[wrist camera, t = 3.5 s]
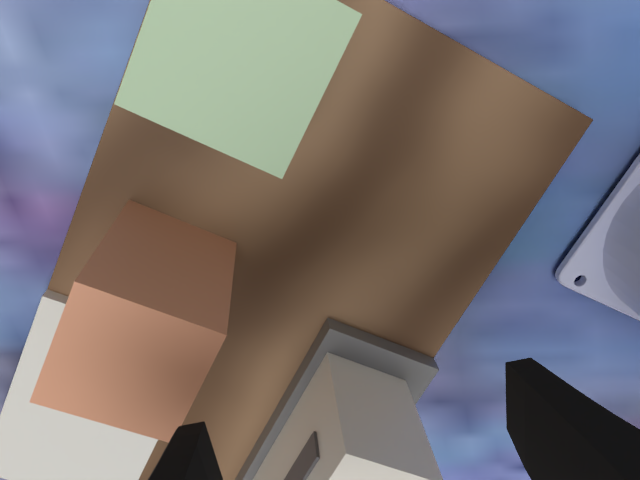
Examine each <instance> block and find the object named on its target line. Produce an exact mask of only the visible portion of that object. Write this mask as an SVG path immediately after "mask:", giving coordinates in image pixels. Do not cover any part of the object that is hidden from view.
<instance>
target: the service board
mask: <svg viewBox="0 0 640 480" xmlns="http://www.w3.org/2000/svg"><path fill="white" fill-rule="evenodd" d="M150 1H151V0H150ZM337 1H339V2H341V3H343V4H345V5H346V6H348V7H350V8H352V9H354V10H355V11H357V12H359V13H361V14H362V16H361V18H360V20H359V22H358V24H357V26H356V28H355V30H354V33H353V35H352V37H351V39H350V41H349V43H348V45H347V47H346V49H345V51H344V53H343V55H342V57H341V59H340V61H339V63H338V65H337V67H336V69H335V72H334V74H333V76H332V78H331V80H330V82H329V84H328V86H327V88H326V90H325V92H324V94H323V96H322V98H321V100H320V102H319V104H318V106H317V108H316V111H315V113H314V115H313V117H312V119H311V121H310V123H309V125H308V127H307V129H306V131H305V133H304V135H303V137H302V139H301V141H300V143H299V145H298V147H297V150H296V152H295V154H294V156H293V158H292V160H291V162H290V164H289V166H288V168H287V170H286V172H285V174H284V176H283V178H282V179H280V178H278V177H276V176H274V175H272V174H269V173H267V172H265V171H263V170H260V169H258V168H256V167H254V166H251V165H249V164H247V163H245V162H242V161H240V160H238V159H236V158H233V157H231V156H229V155H227V154H224V153H222V152H220V151H218V150H216V149H213V148H211V147H209V146H207V145H204V144H202V143H200V142H198V141H195V140H193V139H191V138H189V137H186V136H184V135H182V134H180V133H177V132H175V131H173V130H171V129H168V128H166V127H164V126H162V125H160V124H157V123H155V122H153V121H151V120H148V119H146V118H144V117H142V116H139V115H137V114H135V113H133V112H130V111H128V110H126V109H124V108H121V107H119V106H117V105H115V104H114V103H113V106H112V109H111V112H110V114H109V117H108V120H107V123H106V126H105V128H104V131H103V134H102V137H101V140H100V142H99V145H98V148H97V151H96V154H95V157H94V159H93V162H92V165H91V168H90V171H89V173H88V176H87V179H86V182H85V185H84V188H83V190H82V193H81V196H80V199H79V202H78V204H77V207H76V210H75V213H74V216H73V219H72V221H71V224H70V227H69V230H68V233H67V235H66V238H65V241H64V244H63V247H62V250H61V252H60V255H59V258H58V261H57V264H56V266H55V269H54V272H53V275H52V278H51V281H50V283H49V286H48V290H51V291H54V292H57V293H59V294H62V295H65V296H68V297H69V294H70V291H71V289H72V286H73V283H74V281H75V280H76V278H77V277H78V275H79V274H80V272H81V271H82V269H83V268H84V266H85V265H86V263H87V262H88V260H89V259H90V257H91V256H92V254H93V253H94V251H95V250H96V248H97V247H98V245H99V244H100V242H101V241H102V239H103V238H104V236H105V235H106V233H107V232H108V230H109V229H110V227H111V226H112V224H113V223H114V221H115V220H116V218H117V217H118V215H119V214H120V212H121V211H122V209H123V208H124V206H125V205H126V203H127V202H128V200H131V201H134V202H136V203H139V204H141V205H144V206H146V207H149V208H151V209H154V210H156V211H159V212H161V213H164V214H166V215H169V216H171V217H174V218H176V219H178V220H181V221H183V222H186V223H188V224H191V225H193V226H196V227H198V228H201V229H203V230H206V231H208V232H211V233H213V234H216V235H218V236H221V237H223V238H226V239H228V240H231V241H233V242H236V243H237V245H236V254H235V263H234V273H233V282H232V292H231V301H230V310H229V320H228V329H227V336H226V338H225V340H224V342H223V344H222V346H221V348H220V350H219V352H218V354H217V356H216V358H215V360H214V362H213V364H212V366H211V368H210V370H209V372H208V374H207V376H206V378H205V380H204V382H203V384H202V386H201V388H200V390H199V392H198V394H197V396H196V398H195V400H194V402H193V404H192V406H191V408H190V410H189V412H188V414H187V416H186V418H185V420H184V422H183V424H182V425H187V424H192V423H198V422H203V421H205V424H206V427H207V431H208V434H209V437H210V440H211V443H212V446H213V449H214V452H215V456H216V459H217V462H218V465H219V468H220V471H221V474H222V477H223V480H235V478H236V477H237V475H238V473H239V471H240V470H241V468H242V466H243V464H244V463H245V461H246V459H247V457H248V456H249V454H250V452H251V450H252V449H253V447H254V445H255V443H256V442H257V440H258V438H259V436H260V435H261V433H262V431H263V429H264V428H265V426H266V424H267V422H268V421H269V419H270V417H271V415H272V414H273V412H274V410H275V408H276V407H277V405H278V403H279V401H280V400H281V398H282V396H283V394H284V393H285V391H286V389H287V387H288V386H289V384H290V382H291V380H292V379H293V377H294V375H295V373H296V372H297V370H298V368H299V366H300V365H301V363H302V361H303V359H304V358H305V356H306V354H307V352H308V351H309V349H310V347H311V345H312V344H313V342H314V340H315V338H316V337H317V335H318V333H319V331H320V330H321V328H322V326H323V324H324V323H325V321H326V319H327V317H328V318H330V319H333V320H336V321H338V322H341V323H344V324H346V325H349V326H351V327H354V328H357V329H359V330H362V331H364V332H367V333H370V334H372V335H375V336H377V337H380V338H383V339H385V340H388V341H391V342H393V343H396V344H398V345H401V346H404V347H406V348H409V349H411V350H414V351H417V352H419V353H422V354H424V355H427V356H430V357H432V358H434V356H435V355H436V353H437V352H438V350H439V349H440V347H441V346H442V344H443V343H444V341H445V340H446V338H447V337H448V335H449V334H450V332H451V331H452V329H453V328H454V326H455V325H456V323H457V322H458V321H459V319H460V318H461V316H462V315H463V313H464V312H465V310H466V309H467V307H468V306H469V304H470V303H471V301H472V300H473V298H474V297H475V295H476V294H477V292H478V291H479V289H480V288H481V286H482V285H483V283H484V282H485V280H486V279H487V277H488V276H489V274H490V273H491V271H492V270H493V268H494V267H495V265H496V264H497V262H498V261H499V259H500V258H501V256H502V255H503V253H504V252H505V250H506V249H507V247H508V246H509V244H510V243H511V242H512V240H513V239H514V237H515V236H516V234H517V233H518V231H519V230H520V228H521V227H522V225H523V224H524V222H525V221H526V219H527V218H528V216H529V215H530V213H531V212H532V210H533V209H534V207H535V206H536V204H537V203H538V201H539V200H540V198H541V197H542V195H543V194H544V192H545V191H546V189H547V188H548V186H549V185H550V183H551V182H552V180H553V179H554V177H555V176H556V174H557V173H558V171H559V170H560V168H561V167H562V165H563V164H564V163H565V161H566V160H567V158H568V157H569V155H570V154H571V152H572V151H573V149H574V148H575V146H576V145H577V143H578V142H579V140H580V139H581V137H582V136H583V134H584V133H585V131H586V130H587V128H588V127H589V125H590V124H591V122H592V121H593V119H591V118H589V117H588V116H586V115H584V114H582V113H581V112H579V111H577V110H575V109H574V108H572V107H570V106H568V105H567V104H565V103H563V102H561V101H560V100H558V99H556V98H554V97H553V96H551V95H549V94H547V93H546V92H544V91H542V90H540V89H539V88H537V87H535V86H533V85H532V84H530V83H528V82H526V81H524V80H523V79H521V78H519V77H517V76H516V75H514V74H512V73H510V72H509V71H507V70H505V69H503V68H502V67H500V66H498V65H496V64H495V63H493V62H491V61H489V60H488V59H486V58H484V57H482V56H481V55H479V54H477V53H475V52H474V51H472V50H470V49H468V48H467V47H465V46H463V45H461V44H460V43H458V42H456V41H454V40H453V39H451V38H449V37H447V36H446V35H444V34H442V33H440V32H439V31H437V30H435V29H433V28H432V27H430V26H428V25H426V24H425V23H423V22H421V21H419V20H418V19H416V18H414V17H412V16H411V15H409V14H407V13H405V12H404V11H402V10H400V9H398V8H397V7H395V6H393V5H391V4H390V3H388V2H386V1H384V0H337ZM149 4H150V2H149ZM149 4H148V7H149ZM148 7H147V10H148ZM147 10H146V12H147ZM145 15H146V13H145ZM144 18H145V16H144ZM143 21H144V19H143ZM143 21H142V24H143ZM142 24H141V27H142ZM141 27H140V29H141ZM139 32H140V30H139ZM138 35H139V33H138ZM138 35H137V38H138ZM137 38H136V41H137ZM136 41H135V43H136ZM134 46H135V44H134ZM133 49H134V47H133ZM132 52H133V50H132ZM132 52H131V55H132ZM131 55H130V57H131ZM129 60H130V58H129ZM128 63H129V61H128ZM127 66H128V64H127ZM127 66H126V69H127ZM126 69H125V72H126ZM125 72H124V74H125ZM123 77H124V75H123ZM122 80H123V78H122ZM121 83H122V81H121ZM121 83H120V86H121ZM120 86H119V88H120ZM118 91H119V89H118ZM117 94H118V92H117ZM116 97H117V95H116ZM116 97H115V100H116ZM115 100H114V102H115ZM167 445H168V442H165V441H161V440H158V441H157V443H156V445H155V447H154V449H153V451H152V453H151V455H150V457H149V459H148V461H147V463H146V465H145V467H144V469H143V471H142V473H141V475H140V478H139V480H148V478H149V477H150V475H151V473H152V472H153V470H154V468H155V466H156V465H157V463H158V461H159V459H160V457H161V456H162V454H163V452H164V450H165V448H166V447H167Z"/></svg>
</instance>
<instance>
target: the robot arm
mask: <svg viewBox="0 0 640 480" xmlns="http://www.w3.org/2000/svg"><path fill="white" fill-rule="evenodd" d="M580 275H581V278H580V279H579V280H578V281H576V282H574V281H575V278H577V277H578V276H580ZM555 277H556V280H557V281H558V282H559V283H560V284H562V285H563V286H565V287H567V288H569V289H571V290H573V291H576V292H578V293H580V294H582V295H584V296H586V297H589V298H591V299H593V300H595V301H597V302H600V303H602V304H604V305H606V306H608V307H611V308H613V309H615V310H617V311H619V312H621V313H624V314H626V315H628V316H630V317H632V318H635V319H637V320H639V321H640V154H639V155H638V156H637V158H636V159H635V161H634V162H633V163H632V165H631V166H630V168H629V169H628V170H627V172H626V173H625V175H624V176H623V177H622V179H621V180H620V182H619V183H618V184H617V186H616V187H615V189H614V190H613V191H612V193H611V194H610V196H609V197H608V198H607V200H606V201H605V202H604V204H603V205H602V207H601V208H600V209H599V211H598V212H597V214H596V215H595V216H594V218H593V219H592V221H591V222H590V223H589V225H588V226H587V228H586V229H585V230H584V232H583V233H582V235H581V236H580V237H579V239H578V240H577V242H576V243H575V244H574V246H573V247H572V249H571V250H570V251H569V253H568V254H567V256H566V257H565V258H564V260H563V261H562V262H561V264H560V265H559V267H558V268H557V270H556V272H555ZM506 414H507V430H508V432H509V434H510V437H511V439H512V441H513V444H514V446H515V448H516V450H517V453H518V455H519V457H520V459H521V461H522V463H523V465H524V468H525V469H526V471H527V473H528V475H529V476H530V478H531V480H640V429H638V428H636V427H635V426H633V425H631V424H630V423H628V422H626V421H624V420H623V419H621V418H620V417H618V416H616V415H615V414H613V413H612V412H610V411H608V410H607V409H605V408H604V407H602V406H601V405H599V404H598V403H596V402H594V401H593V400H591V399H590V398H588V397H587V396H585V395H584V394H582V393H581V392H579V391H578V390H577V389H575V388H574V387H572V386H571V385H569V384H568V383H566V382H565V381H564V380H562V379H561V378H559V377H558V376H556V375H555V374H553V373H552V372H551V371H549V370H548V369H546V368H545V367H543V366H542V365H541V364H539V363H538V362H536V361H535V360H533V359H532V358H527V359H521V360H516V361H511V362H506ZM148 480H223V477H222V474H221V471H220V468H219V465H218V462H217V459H216V456H215V452H214V449H213V446H212V443H211V440H210V437H209V434H208V431H207V427H206V424H205V421H203V422H198V423H192V424H187V425H182V426H178V428H177V429H176V430H175V432H174V434H173V436H172V438H171V439H170V441H169V443H168V445H167V447H166V448H165V450H164V452H163V454H162V456H161V457H160V459H159V461H158V463H157V465H156V466H155V468H154V470H153V472H152V473H151V475H150V477H149V478H148Z"/></svg>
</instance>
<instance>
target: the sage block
mask: <svg viewBox="0 0 640 480" xmlns="http://www.w3.org/2000/svg"><path fill="white" fill-rule="evenodd" d="M361 16H362V14H361V13H359V12H357V11H355V10H354V9H352V8H350V7H348V6H346V5H345V4H343V3H341V2H339V1H337V0H151V1H150V4H149V7H148V10H147V12H146V15H145V18H144V21H143V24H142V27H141V29H140V32H139V35H138V38H137V41H136V43H135V46H134V49H133V52H132V55H131V57H130V60H129V63H128V66H127V69H126V72H125V74H124V77H123V80H122V83H121V86H120V88H119V91H118V94H117V97H116V100H115V102H114V104H115V105H117V106H119V107H121V108H124V109H126V110H128V111H130V112H133V113H135V114H137V115H139V116H142V117H144V118H146V119H148V120H151V121H153V122H155V123H157V124H160V125H162V126H164V127H166V128H168V129H171V130H173V131H175V132H177V133H180V134H182V135H184V136H186V137H189V138H191V139H193V140H195V141H198V142H200V143H202V144H204V145H207V146H209V147H211V148H213V149H216V150H218V151H220V152H222V153H224V154H227V155H229V156H231V157H233V158H236V159H238V160H240V161H242V162H245V163H247V164H249V165H251V166H254V167H256V168H258V169H260V170H263V171H265V172H267V173H269V174H272V175H274V176H276V177H278V178H280V179H282V178H283V176H284V174H285V172H286V170H287V168H288V166H289V164H290V162H291V160H292V158H293V156H294V154H295V152H296V150H297V147H298V145H299V143H300V141H301V139H302V137H303V135H304V133H305V131H306V129H307V127H308V125H309V123H310V121H311V119H312V117H313V115H314V113H315V111H316V108H317V106H318V104H319V102H320V100H321V98H322V96H323V94H324V92H325V90H326V88H327V86H328V84H329V82H330V80H331V78H332V76H333V74H334V72H335V69H336V67H337V65H338V63H339V61H340V59H341V57H342V55H343V53H344V51H345V49H346V47H347V45H348V43H349V41H350V39H351V37H352V35H353V33H354V30H355V28H356V26H357V24H358V22H359V20H360V18H361Z"/></svg>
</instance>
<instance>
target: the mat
mask: <svg viewBox="0 0 640 480" xmlns="http://www.w3.org/2000/svg"><path fill="white" fill-rule="evenodd" d="M67 300H68V296H65V295H62V294H59V293H57V292H54V291H51V290H48V289H47V290H46V292H45V293H44V295H43V296H42V298H41V301H40V304H39V307H38V310H37V313H36V315H35V318H34V321H33V324H32V327H31V330H30V332H29V335H28V338H27V341H26V344H25V347H24V349H23V352H22V355H21V358H20V361H19V364H18V366H17V369H16V372H15V375H14V378H13V381H12V383H11V386H10V389H9V392H8V395H7V398H6V400H5V403H4V406H3V409H2V412H1V415H0V478H4V479H8V480H139V478H140V475H141V473H142V471H143V469H144V467H145V465H146V463H147V461H148V459H149V457H150V455H151V453H152V451H153V449H154V447H155V445H156V443H157V441H158V439H154V438H151V437H147V436H144V435H140V434H137V433H134V432H130V431H127V430H123V429H120V428H116V427H113V426H109V425H106V424H103V423H99V422H96V421H92V420H89V419H85V418H82V417H78V416H75V415H72V414H68V413H65V412H61V411H58V410H54V409H51V408H48V407H44V406H41V405H37V404H34V403H30V399H31V396H32V393H33V391H34V388H35V385H36V383H37V380H38V377H39V375H40V372H41V369H42V367H43V364H44V361H45V359H46V356H47V353H48V351H49V348H50V345H51V342H52V340H53V337H54V334H55V332H56V329H57V326H58V324H59V321H60V318H61V316H62V313H63V310H64V308H65V305H66V302H67Z"/></svg>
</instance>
